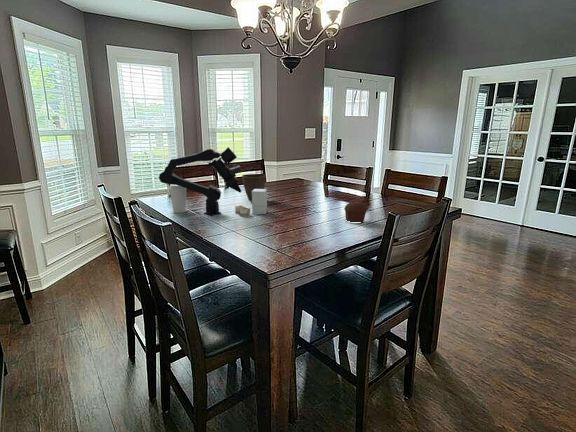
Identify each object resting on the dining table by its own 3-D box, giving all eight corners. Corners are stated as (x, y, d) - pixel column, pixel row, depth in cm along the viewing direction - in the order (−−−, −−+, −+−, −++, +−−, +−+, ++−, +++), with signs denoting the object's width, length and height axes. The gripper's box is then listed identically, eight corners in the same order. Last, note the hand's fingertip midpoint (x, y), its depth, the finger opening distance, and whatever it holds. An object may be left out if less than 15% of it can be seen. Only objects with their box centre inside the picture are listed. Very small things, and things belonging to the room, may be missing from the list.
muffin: (348, 225, 166) (350, 205, 163) (339, 219, 176) (340, 200, 173) (370, 223, 169) (372, 204, 166) (360, 218, 179) (361, 199, 177)
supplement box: (267, 211, 190) (267, 188, 187) (265, 214, 183) (265, 191, 180) (254, 210, 191) (254, 188, 188) (251, 214, 184) (251, 191, 181)
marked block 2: (246, 217, 177) (246, 209, 176) (240, 216, 179) (239, 208, 178) (250, 215, 181) (250, 207, 180) (243, 214, 183) (243, 207, 181)
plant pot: (238, 201, 212) (238, 176, 208) (248, 197, 226) (247, 173, 222) (260, 203, 208) (260, 177, 204) (269, 198, 222) (269, 174, 218)
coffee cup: (166, 212, 185) (164, 185, 181) (179, 208, 193) (177, 182, 189) (179, 214, 181) (177, 186, 177) (192, 210, 189) (190, 184, 185)
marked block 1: (239, 215, 182) (238, 207, 180) (235, 213, 185) (235, 206, 184) (245, 214, 184) (245, 206, 183) (241, 212, 187) (241, 205, 186)
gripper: (234, 161, 169) (254, 185, 174) (233, 158, 187) (251, 180, 192) (217, 175, 169) (237, 199, 174) (217, 170, 187) (235, 192, 192)
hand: (240, 192), depth 183 cm, fingers closed
